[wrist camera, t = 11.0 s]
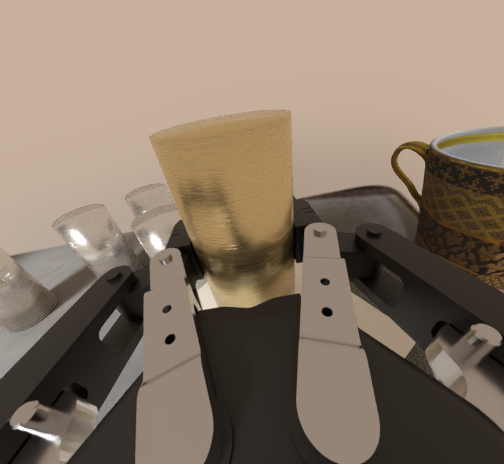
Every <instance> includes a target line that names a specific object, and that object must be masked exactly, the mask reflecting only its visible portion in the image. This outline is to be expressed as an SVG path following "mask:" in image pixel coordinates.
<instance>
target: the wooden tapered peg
mask: <svg viewBox="0 0 504 464" xmlns="http://www.w3.org/2000/svg"><path fill="white" fill-rule="evenodd" d="M149 139H150V141H151V144H152V146H153V149H154V151H155V154H156V156H157V158H158V161H159V164H160V166H161V168H162V171H163V173H164V176H165V178H166V181H167V183H168V186H169V188H170V191H171V193H172V196H173V198H174V201H175V203H176V206H177V208H178V211H179V213H180V216H181V218H182V220H183V223H184V225H185V228H186V230H187V233H188V235H189V238H190V240H191V243H192V245H193V248H194V250H195V253H196V255H197V258H198V260H199V263H200V265H201V268H202V270H203V272H204V275H205V277H206V280H207V282H208V285H209V287H210V290H211V292H212V295H213V297H214V300H215V302H216V305H217V307H223V306H224V307H240V308H251V307H253V306H256V305H258V304H260V303H263V302H265V301H268V300H270V299H272V298H275V297H280V296H286V295H292V294H295V254H294V213H293V176H292V175H293V171H292V130H291V111H288V110H263V111H254V112H245V113H239V114H232V115H225V116H219V117H214V118H209V119H204V120H199V121H194V122H190V123H186V124H182V125H178V126H174V127H171V128H168V129H164V130H162V131H159V132H157V133H154V134H152V135H151V136H150V137H149Z"/></svg>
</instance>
